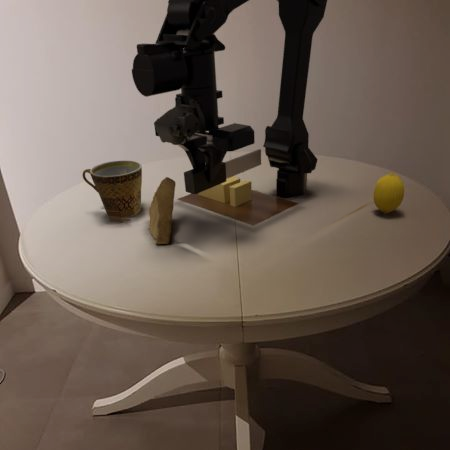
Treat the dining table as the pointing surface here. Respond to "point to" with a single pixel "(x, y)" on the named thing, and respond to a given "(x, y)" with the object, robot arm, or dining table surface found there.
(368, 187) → the dining table surface
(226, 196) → the butter stick
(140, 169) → the ceramic cup
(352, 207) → the dining table surface
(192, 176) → the knife
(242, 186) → the butter slice
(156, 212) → the rock
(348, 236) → the dining table surface
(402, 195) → the lemon
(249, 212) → the butter board
